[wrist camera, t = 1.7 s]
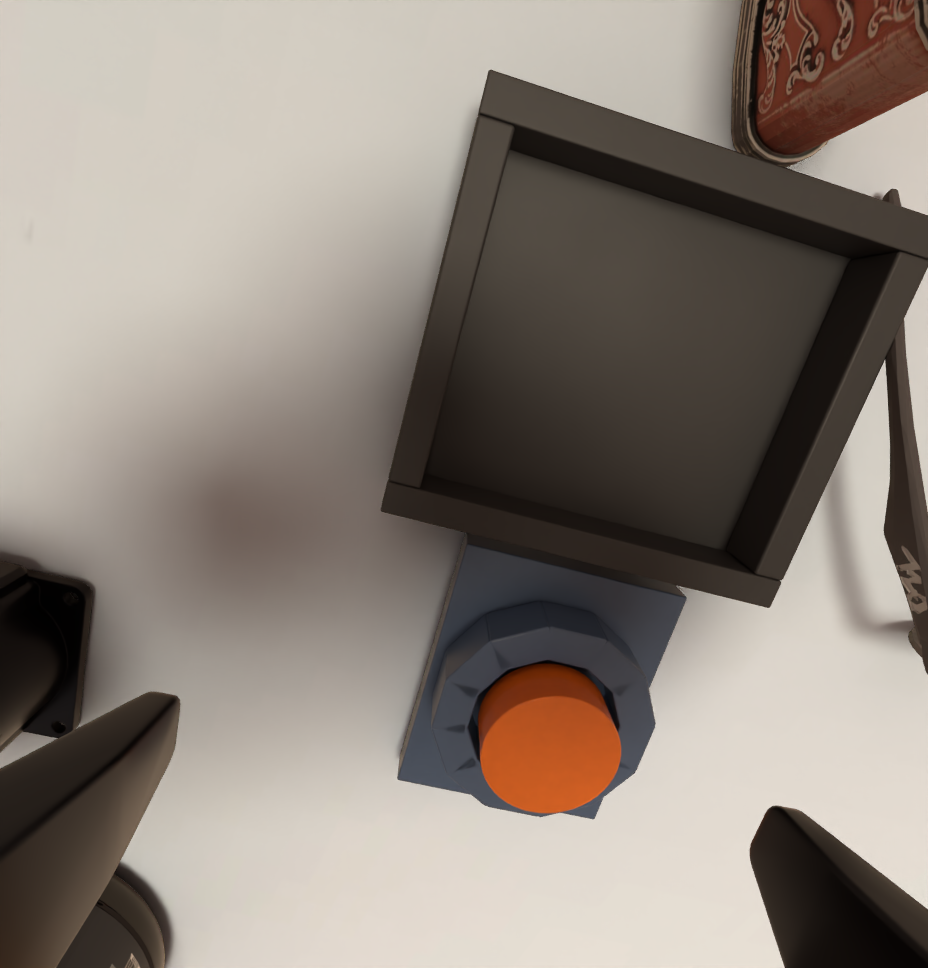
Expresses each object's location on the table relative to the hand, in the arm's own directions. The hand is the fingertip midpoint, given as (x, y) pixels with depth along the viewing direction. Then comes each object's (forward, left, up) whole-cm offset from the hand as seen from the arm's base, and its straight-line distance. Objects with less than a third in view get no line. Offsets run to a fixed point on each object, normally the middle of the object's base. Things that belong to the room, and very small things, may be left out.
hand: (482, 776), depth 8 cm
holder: (+6, -4, -12) cm, 14 cm away
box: (-6, -4, -12) cm, 14 cm away
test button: (-6, -4, -9) cm, 12 cm away
